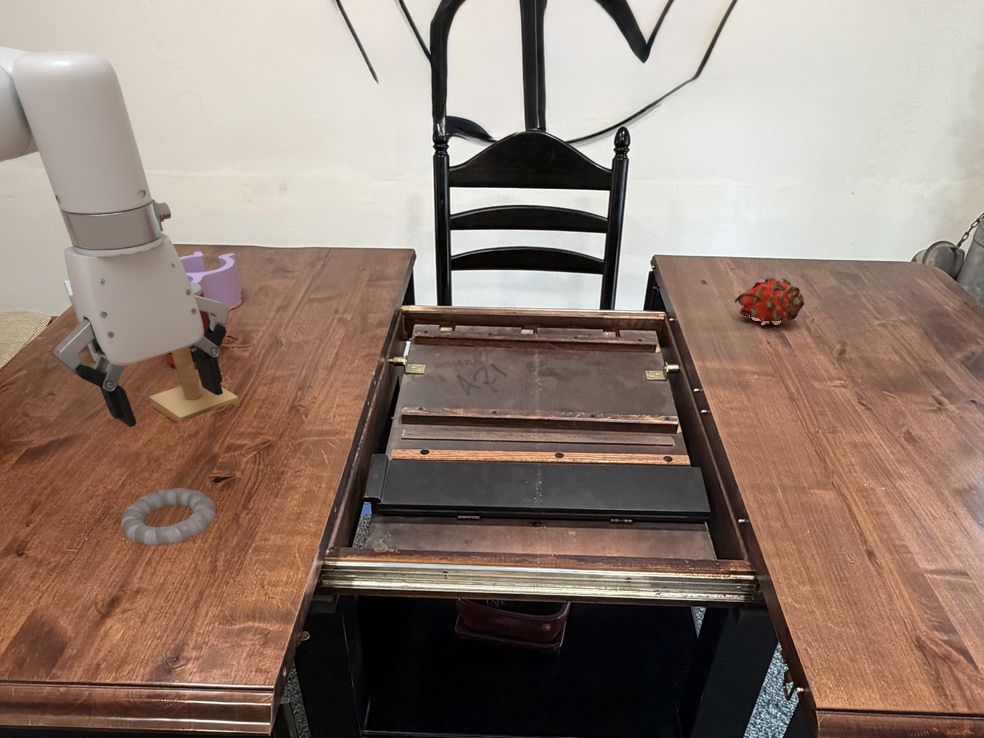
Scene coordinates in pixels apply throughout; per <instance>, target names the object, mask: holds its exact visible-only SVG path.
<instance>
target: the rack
mask: <svg viewBox="0 0 984 738" xmlns="http://www.w3.org/2000/svg"><path fill="white" fill-rule="evenodd" d="M171 353H172V356H173V360H174V363H175V367H176V368H175V367H174V368H175V370H176V373H177V377H178V380H179V383H180V385H179V386H176V387H173V388H170V389H167V390H164V391H161V392H158V393H156V394H152V395H149V396H148V399H149V402H150V405H151V407H152V408H154V409H155V410H157V411H158V412H159V413H161V414H163V415H165V416H166V417H167V418H169V419H170V420H171V421H173V422H175V423H176V424H179V423H182V422H184V421H188V420H190V419H191V418H195V417H198V416H201V415H203V414H206V413H208V412H211V411H214V410H218V409H219V408H222V407H226V406H228V405H231V404H232V405H233V406H235V407H237V408H239V407H241V403H240V399H239V396H238V395H236V394H234V393H233V392H231V391H229V390H227V389H226V388H224V387H222V391H223V394H221V395H215V394H213V393H211V392H210V391H208V390H206V389H205V388H203V386H202V384H201V380H200V379H198V375H197V371H196V368H195V367H194V364H193V360H192V356H191V353H190V349H189V347H186V348H183V349H180V350H177V351H174V352H171Z"/></svg>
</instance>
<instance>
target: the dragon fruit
mask: <svg viewBox="0 0 984 738" xmlns="http://www.w3.org/2000/svg"><path fill="white" fill-rule="evenodd" d="M781 280H782V281H781ZM781 280H776V279H775V278H773V277H767V278H764V281H757V282H755V283H754V285H753V286H752V287H751V288H749V289H747V290H746V291H744V292H742V293H740V294H739V295H738V296H737V297H736V298H735V299H734V304H737V302H738V304H739V305H740V306H742V308H740V309H739V314H740V315H741V316H742V315H744V316H746V317H749V315H750V318H751V317H755V318H759V319H760V320H761V321H760V323H761V322H763V321H769V322H772V321H780V320H781V321H782V320H783V321H788V322H789V321H790V322H791V321H793V320H795V319H796V318H797V317H798V316H799V313H800V311H801V310H802V308H803V307H804V306H805V305H806V304H805V302H804V300H805V299H804V296H803V294H802V293H801V289H800V288H799V287H798V286H794V285H793V284H792V283H791V281H789V280H788V279H787V278H786V277H782V278H781ZM744 316H743V317H744ZM783 321H782V322H783Z"/></svg>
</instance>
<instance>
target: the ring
mask: <svg viewBox="0 0 984 738" xmlns="http://www.w3.org/2000/svg"><path fill="white" fill-rule="evenodd" d="M176 505H178V506H182V507H183V506H184V507H188V508H190V510H192V511H193V513H192V514H191V515H190V516H189V517H188V518H186V519H184V520H182V521H179V522H178V523H175V524H171V525H165V526H152V525H147V524H146V519H147V517H148V516H150V514H151V513H153V512H155V511H157V510H159V509H162V508H164V507H169V506H176ZM216 518H217V505H216V502H215V501H214V500H213V499H212V498H210V496H207V495H206V494H205V493H204V492H203V491H201V490H197V489H192V488H191V489H190V488H184V487H175V488H168V489H167V488H166V489H160V490H155V491H153V492H151V493H149V494H146V495H144V496H141V497H139V498H137V499H135V501H134V502H132V503H131V504H130V505H129V506H128V507H127V508H126V509H125V510H124V511H123V513H122V517H121V521H120V531H121V533H122V535H124V536H125V537H126V538H127V539H128V540H130V541H131V542H132V543H137V544H142V545H147V546H162V545H163V546H164V545H169V544H176V543H182V542H184V541H186V540H188V539H190V538H193V537H194V536H197V535H199V534H201V533H203V532H204V531H205V530H206V529H207V528H209V526H210V525H211V524H212V523H213V522H214V521H215V520H216Z"/></svg>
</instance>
